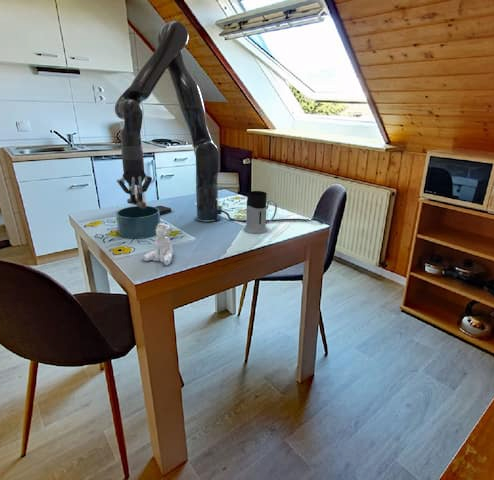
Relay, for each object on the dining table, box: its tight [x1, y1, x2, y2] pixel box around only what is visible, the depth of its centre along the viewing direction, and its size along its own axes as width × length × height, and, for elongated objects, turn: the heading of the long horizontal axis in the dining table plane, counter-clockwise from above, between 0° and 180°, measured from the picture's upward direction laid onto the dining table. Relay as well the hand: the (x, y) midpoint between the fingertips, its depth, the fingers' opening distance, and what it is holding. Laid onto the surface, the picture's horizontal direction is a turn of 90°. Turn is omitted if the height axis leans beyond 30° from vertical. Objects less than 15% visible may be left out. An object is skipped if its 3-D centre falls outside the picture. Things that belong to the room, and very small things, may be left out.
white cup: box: [130, 185, 147, 207], centre depth 165 cm, size 8×8×10 cm
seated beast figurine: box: [143, 222, 174, 266], centre depth 111 cm, size 10×9×12 cm
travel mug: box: [244, 190, 278, 234], centre depth 135 cm, size 9×14×15 cm, turn 44°
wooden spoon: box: [126, 198, 147, 209], centre depth 132 cm, size 13×4×2 cm, turn 36°
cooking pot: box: [115, 205, 161, 239], centre depth 135 cm, size 16×16×8 cm
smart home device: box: [154, 205, 172, 216], centre depth 156 cm, size 8×2×20 cm
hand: (136, 203), depth 133 cm, fingers closed on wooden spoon, 1 cm apart
